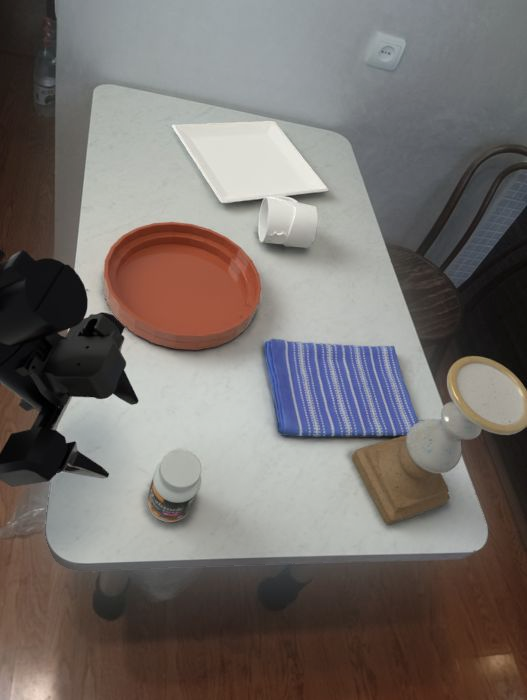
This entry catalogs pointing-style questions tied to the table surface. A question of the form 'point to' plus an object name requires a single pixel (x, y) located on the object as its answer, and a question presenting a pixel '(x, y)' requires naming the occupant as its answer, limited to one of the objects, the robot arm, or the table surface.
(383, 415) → the dish towel
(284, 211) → the mug
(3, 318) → the robot arm
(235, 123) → the plate
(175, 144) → the table surface
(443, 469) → the candle holder
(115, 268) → the bowl
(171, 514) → the pill bottle
